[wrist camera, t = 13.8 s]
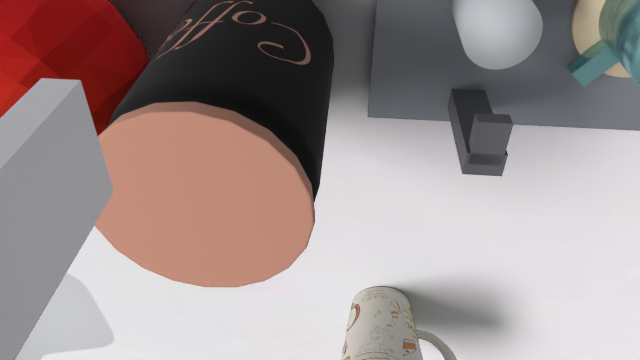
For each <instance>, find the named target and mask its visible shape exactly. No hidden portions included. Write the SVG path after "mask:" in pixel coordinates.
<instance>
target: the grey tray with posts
mask: <svg viewBox="0 0 640 360" xmlns="http://www.w3.org/2000/svg"><path fill="white" fill-rule="evenodd" d="M605 1H606V0H377V2H376V14H375V27H374V39H373V51H372V64H371V76H370V89H369V101H368V117H375V118H396V119H416V120H436V121H451V126H452V130H453V134H454V139H455V143H456V148H457V152H458V157H459V161H460V165H461V170H462V174H472V175H490V176H502V173H503V170H504V166H505V163H506V160H507V156H508V154H507V151H506V148H507V144H508V141H509V137H510V134H511V130H512V127H513V124H516V125H537V126H557V127H577V128H597V129H617V130H637V131H640V86H639V85H638V84H637V83H636V82H635V80H634V79H633V78H632V77H631V76H630V74H629V73H628V72H627V71H626V70H625V68H624V67H623V66H622V65H621V64H620V62H618V63H617V64H615V65H614V66H612V67H611V68H610V69H608V70H607V71H606V72H604V73H603V74H601V75H600V76H599V77H597V78H596V79H595V80H593V81H592V82H590V83H589V84H588V85H586V86H585V87H583V86H582V85H581V84H580V83H579V82H578V81H577V79H576V78H575V77H574V76H573V75H572V74H571V73H570V71H569V70H568V68H567V67H566V66H567V65H568V64H569V63H571V62H572V61H573V60H575V59H576V58H577V57H579V56H580V55H581V54H582V53H584V52H585V51H586V50H588V49H589V48H590V47H592V46H593V45H594V44H596V43H597V42H598V41H599V40H601V37H600V34H599V27H598V26H599V17H600V13H601V10H602V7H603V5H604V3H605Z"/></svg>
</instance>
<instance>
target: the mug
mask: <svg viewBox="0 0 640 360" xmlns="http://www.w3.org/2000/svg"><path fill="white" fill-rule="evenodd" d="M418 338H419V339H423V340H426V341H429V342H430V343H432V344H433V345H434V346H435V347H436V348H437V349H438V350H439V351H440V352H441V354H442V355H443V357H444V359H445V360H457V359H456V357H455V355H454V354H453V352H452V351H451V349H450V348H449V347H448V346H447V345H446V344H445V343H444V342H443V341H441V340H440V339H439V338H438V337H436V336H435V335H433V334H431V333H429V332H425V331H421V330H416V328H415V324H414V319H413V315H412V311H411V307H410V303H409V301H408V299H407V297H406V296H405V295H404V294H403V293H401V292H400V291H398V290H396V289H393V288H389V287H372V288H368V289H365V290H363V291H361V292H360V293H358V294H357V295H356V296H355V297H354V299H353V301H352V305H351V310H350V315H349V321H348V326H347V331H346V337H345V342H344V347H343V353H342V358H341V360H423V358H422V354H421V349H420V345H419V341H418Z"/></svg>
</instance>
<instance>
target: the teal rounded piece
mask: <svg viewBox="0 0 640 360" xmlns="http://www.w3.org/2000/svg"><path fill="white" fill-rule="evenodd" d="M598 27H599V34H600V37H601V40H599V41H598V42H597V43H596V44H594V45H593V46H592V47H590V48H589V49H588V50H586V51H585V52H584V53H582V54H581V55H580V56H579V57H577V58H576V59H575V60H573V61H572V62H571V63H569V64H568V65H567V66H566V67H567V68H568V70H569V71H570V73H571V74H572V75H573V76H574V77H575V78H576V79H577V81H578V82H579V83H580V84H581V85H582V86H583V87H585V86H586V85H588V84H589V83H590V82H592V81H593V80H595V79H596V78H597V77H599V76H600V75H601V74H603V73H604V72H606V71H607V70H608V69H610V68H611V67H612V66H614V65H615V64H617V63H618V62H620V64H621V65H622V66H623V67H624V68H625V70H626V71H627V72H628V73H629V74H630V76H631V77H632V78H633V79H634V80H635V82H636V83H637V84H638V85H639V86H640V0H606V1H605V3H604V5H603V7H602V10H601V13H600V17H599V26H598Z"/></svg>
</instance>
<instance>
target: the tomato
mask: <svg viewBox="0 0 640 360" xmlns="http://www.w3.org/2000/svg"><path fill="white" fill-rule="evenodd" d="M149 62H150V60H149V57H148V54H147V51H146V48H145V47H144V45H143V44H142V43H141V41H140V40H139V39H138V37H137V36H136V35H135V33H134V32H133V30H132V29H131V28H130V26H129V25H128V24H127V22H126V21H125V20H124V18H123V17H122V16H121V14H120V13H119V12H118V10H117V9H116V8H115V6H114V5H113V4H112V3H111V2H109V1H108V0H0V118H1V117H2V116H3V115H4V114H5V113H6V112H7V111H8V110H9V109H10V108H11V107H12V106H13V105H14V104H15V103H16V102H17V101H18V100H20V99H21V98H22V97H23V96H24V95H25V94H26V93H27V92H28V91H29V90H30V89H31V88H32V87H33V86H34V85H35V84H36V83H37V82H38V81H39V80H40V79H41V78H47V79H68V80H81V83H82V86H83V90H84V93H85V96H86V100H87V103H88V106H89V110H90V113H91V116H92V120H93V123H94V126H95V130H96V133H97V136H99V135H100V134H101V133H102V132H103V131H104V130H105V129H106V128H107V127H108V125H109V123H110V120H111V118H112V115H113V113H114V111H115V109H116V108H117V107H118V105H119V104H120V102H121V101H122V100H123V98H124V97H125V96H126V94H127V93H128V91H129V90H130V89H131V87H132V86H133V84H134V83H135V82H136V80H137V79H138V78H139V76H140V75H141V73H142V72H143V71H144V69H145V68H146V67H147V65H148V64H149Z"/></svg>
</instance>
